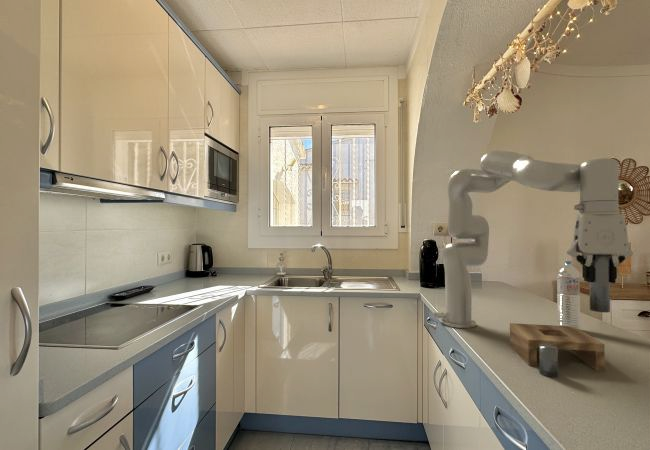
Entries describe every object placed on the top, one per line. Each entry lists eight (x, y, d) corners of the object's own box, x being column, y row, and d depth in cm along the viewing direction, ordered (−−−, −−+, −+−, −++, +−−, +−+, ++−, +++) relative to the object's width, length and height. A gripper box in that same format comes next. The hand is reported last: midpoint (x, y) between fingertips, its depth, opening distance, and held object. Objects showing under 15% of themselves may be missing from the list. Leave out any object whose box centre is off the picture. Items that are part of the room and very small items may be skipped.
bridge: (528, 365, 93) (528, 339, 93) (510, 345, 108) (509, 323, 108) (604, 370, 89) (604, 344, 89) (574, 349, 104) (573, 326, 104)
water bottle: (558, 330, 123) (558, 261, 123) (556, 325, 129) (555, 259, 129) (582, 333, 120) (581, 262, 120) (578, 328, 126) (577, 260, 126)
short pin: (543, 376, 86) (542, 349, 86) (537, 370, 90) (536, 343, 90) (561, 378, 85) (560, 350, 85) (553, 371, 89) (553, 344, 89)
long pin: (595, 312, 84) (594, 247, 84) (586, 308, 88) (585, 246, 88) (613, 312, 83) (613, 247, 83) (604, 308, 87) (603, 246, 87)
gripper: (568, 208, 83) (568, 283, 83) (649, 207, 80) (649, 285, 80) (554, 210, 91) (555, 278, 91) (628, 209, 87) (628, 280, 87)
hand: (599, 281), depth 85 cm, fingers closed on long pin, 4 cm apart
